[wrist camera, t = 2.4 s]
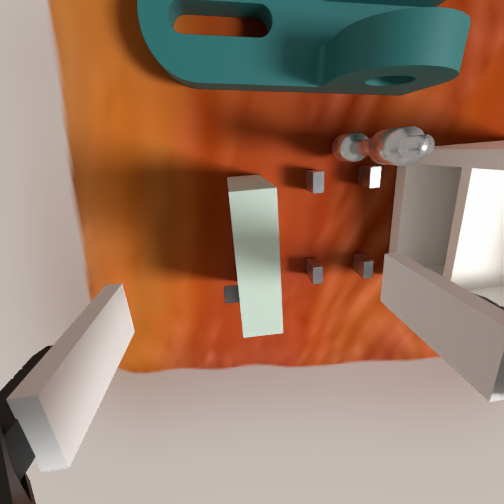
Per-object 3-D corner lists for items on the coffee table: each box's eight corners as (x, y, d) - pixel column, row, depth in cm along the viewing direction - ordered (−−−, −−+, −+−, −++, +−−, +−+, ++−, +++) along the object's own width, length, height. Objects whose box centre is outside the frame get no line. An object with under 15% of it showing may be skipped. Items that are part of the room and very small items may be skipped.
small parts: (305, 137, 21) (369, 129, 12) (370, 132, 22) (482, 120, 12) (306, 274, 25) (355, 347, 16) (361, 267, 26) (440, 336, 16)
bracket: (418, -18, 19) (543, -125, 11) (399, 95, 21) (492, 68, 14) (141, -38, 17) (79, -178, 10) (153, 88, 19) (110, 51, 12)
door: (214, 178, 22) (208, 193, 14) (258, 174, 22) (276, 187, 15) (226, 282, 25) (227, 339, 17) (265, 278, 25) (283, 332, 18)
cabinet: (399, 149, 22) (526, 149, 13) (516, 139, 23) (719, 132, 14) (386, 274, 26) (477, 345, 17) (487, 263, 27) (629, 325, 17)
